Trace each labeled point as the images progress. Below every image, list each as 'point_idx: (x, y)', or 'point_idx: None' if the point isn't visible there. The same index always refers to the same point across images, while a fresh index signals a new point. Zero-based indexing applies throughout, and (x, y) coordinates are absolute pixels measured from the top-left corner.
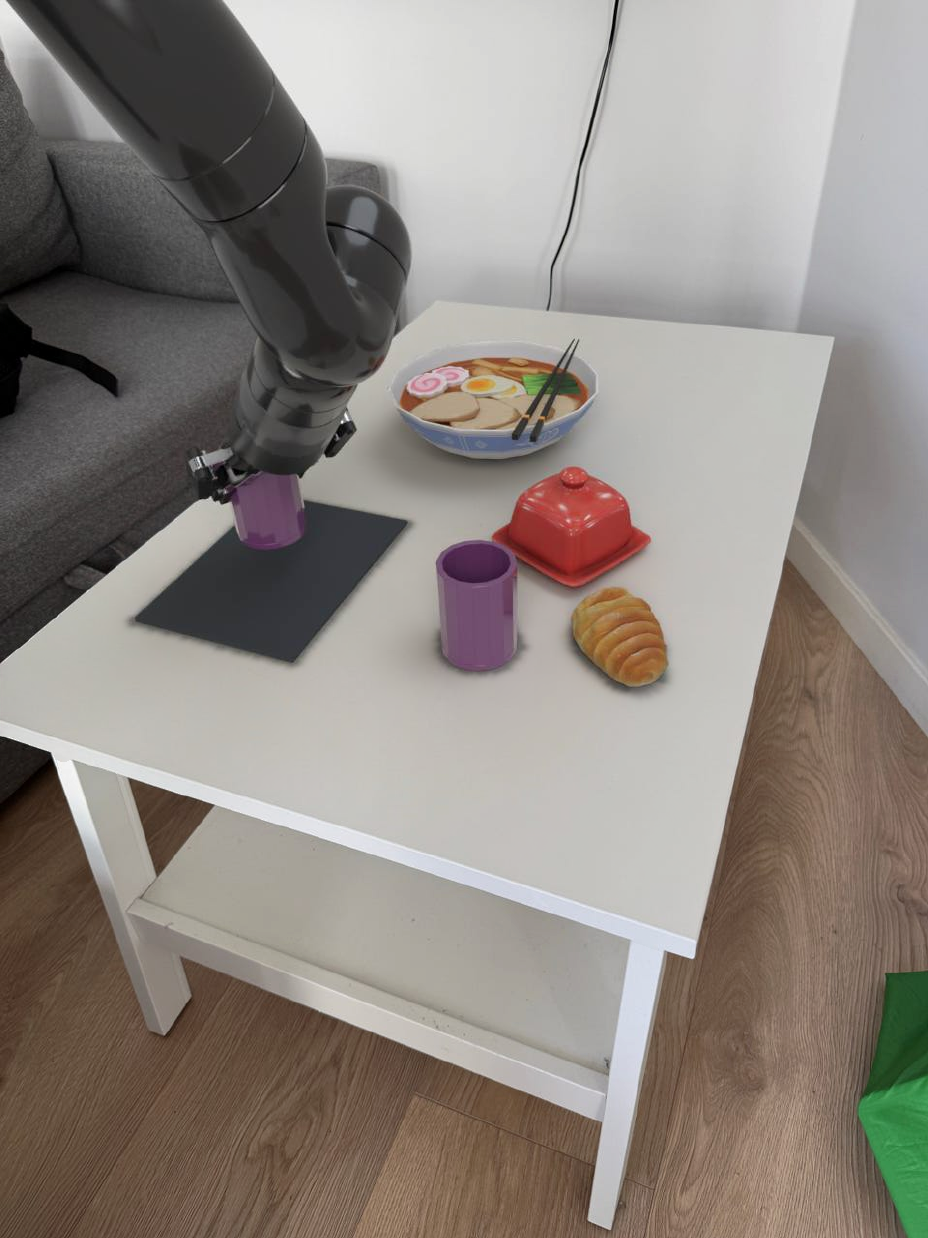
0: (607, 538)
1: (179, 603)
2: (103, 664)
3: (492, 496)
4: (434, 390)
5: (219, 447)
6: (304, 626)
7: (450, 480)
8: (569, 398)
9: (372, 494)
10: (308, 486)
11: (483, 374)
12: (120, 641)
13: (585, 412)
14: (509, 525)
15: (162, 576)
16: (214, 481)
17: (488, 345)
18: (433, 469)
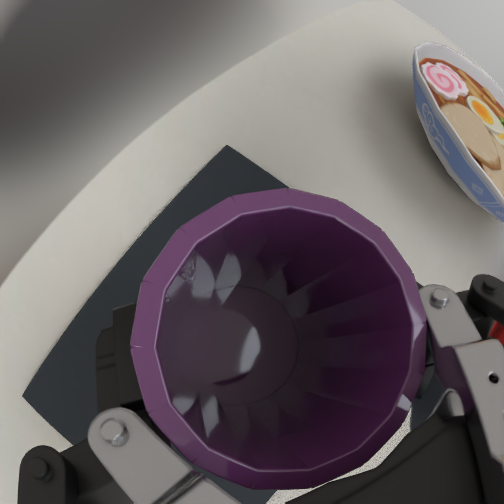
0: None
1: (73, 392)
2: (6, 457)
3: (468, 251)
4: (450, 94)
5: (140, 293)
6: (253, 493)
7: (436, 203)
8: None
9: (361, 194)
10: (280, 144)
11: (474, 94)
12: (14, 426)
13: None
14: (489, 334)
15: (53, 301)
16: (124, 500)
17: (470, 65)
18: (419, 174)
